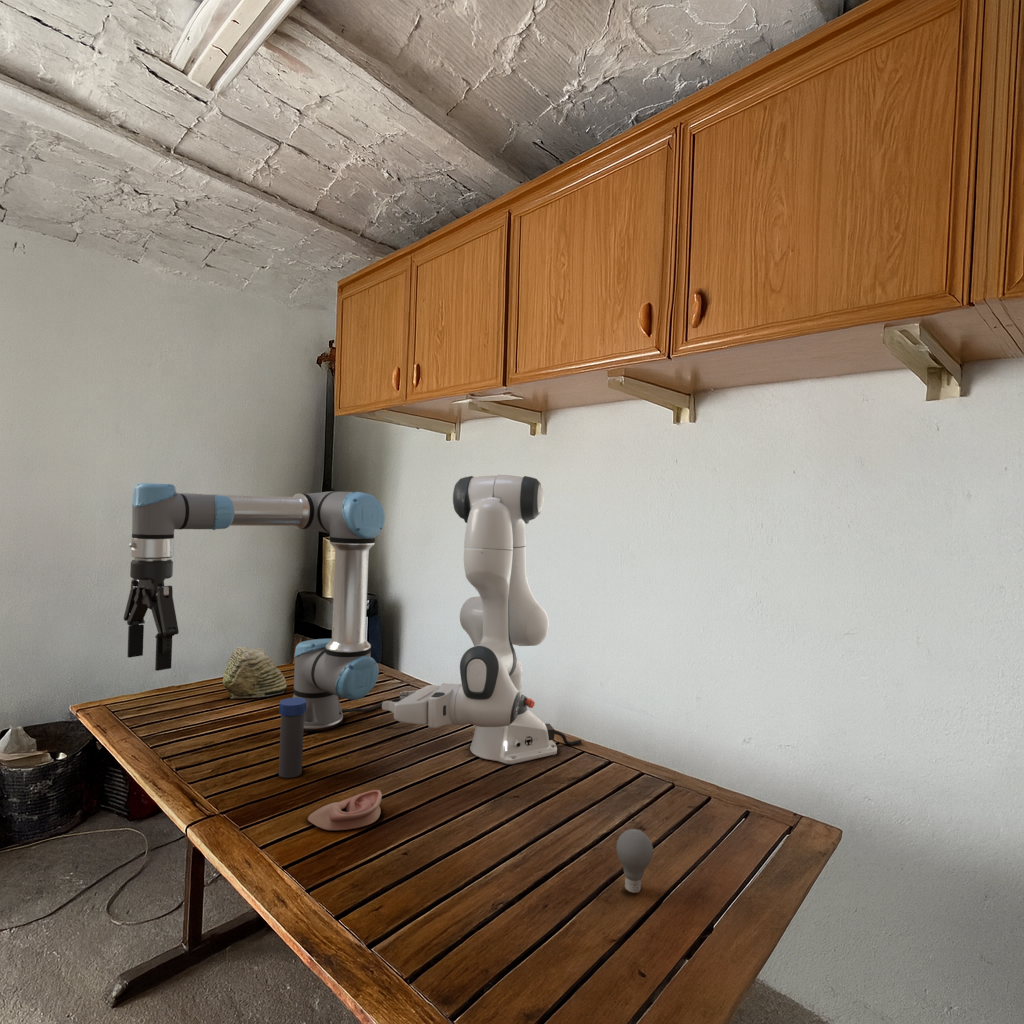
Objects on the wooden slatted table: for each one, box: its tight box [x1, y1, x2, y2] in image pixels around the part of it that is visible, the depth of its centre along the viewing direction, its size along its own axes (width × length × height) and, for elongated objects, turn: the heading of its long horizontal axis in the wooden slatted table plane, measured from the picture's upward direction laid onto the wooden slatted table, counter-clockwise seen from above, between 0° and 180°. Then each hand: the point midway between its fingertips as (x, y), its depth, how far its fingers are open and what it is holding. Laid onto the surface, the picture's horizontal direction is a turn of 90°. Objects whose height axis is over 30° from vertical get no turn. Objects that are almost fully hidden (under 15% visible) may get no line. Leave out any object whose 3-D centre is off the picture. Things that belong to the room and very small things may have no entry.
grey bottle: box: [278, 714, 304, 779], centre depth 144 cm, size 5×5×16 cm
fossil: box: [222, 646, 288, 699], centre depth 198 cm, size 9×18×15 cm, turn 132°
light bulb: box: [615, 828, 654, 894], centre depth 106 cm, size 6×6×10 cm
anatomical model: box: [307, 789, 383, 831], centre depth 126 cm, size 13×4×12 cm
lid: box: [278, 697, 307, 716], centre depth 144 cm, size 6×6×2 cm
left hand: (148, 662), depth 129 cm, fingers open, 13 cm apart
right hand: (392, 700), depth 146 cm, fingers open, 8 cm apart
